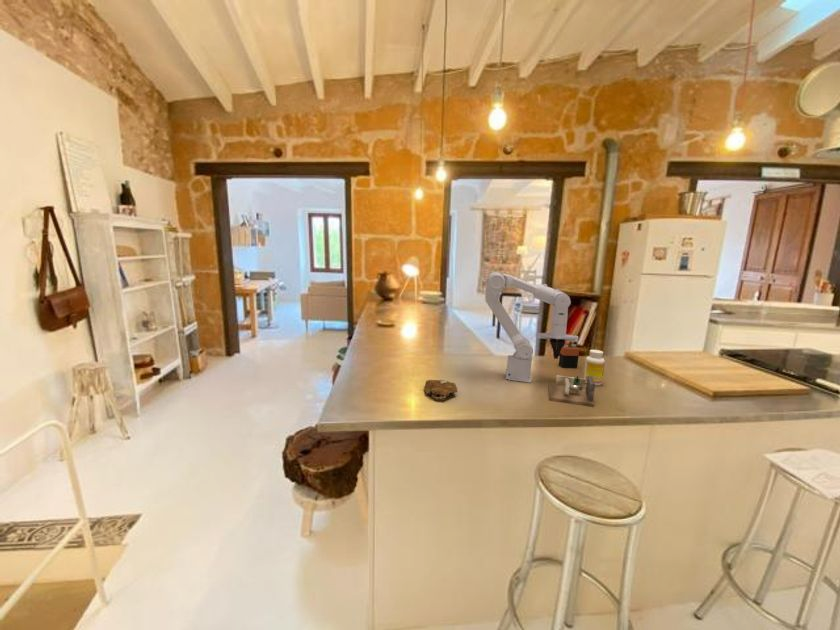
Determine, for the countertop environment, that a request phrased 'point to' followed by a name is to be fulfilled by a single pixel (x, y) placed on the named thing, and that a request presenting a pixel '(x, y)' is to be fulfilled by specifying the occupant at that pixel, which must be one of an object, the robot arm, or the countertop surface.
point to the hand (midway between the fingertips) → (555, 358)
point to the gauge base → (573, 391)
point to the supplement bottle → (595, 366)
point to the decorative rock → (440, 388)
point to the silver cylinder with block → (571, 386)
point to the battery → (569, 356)
